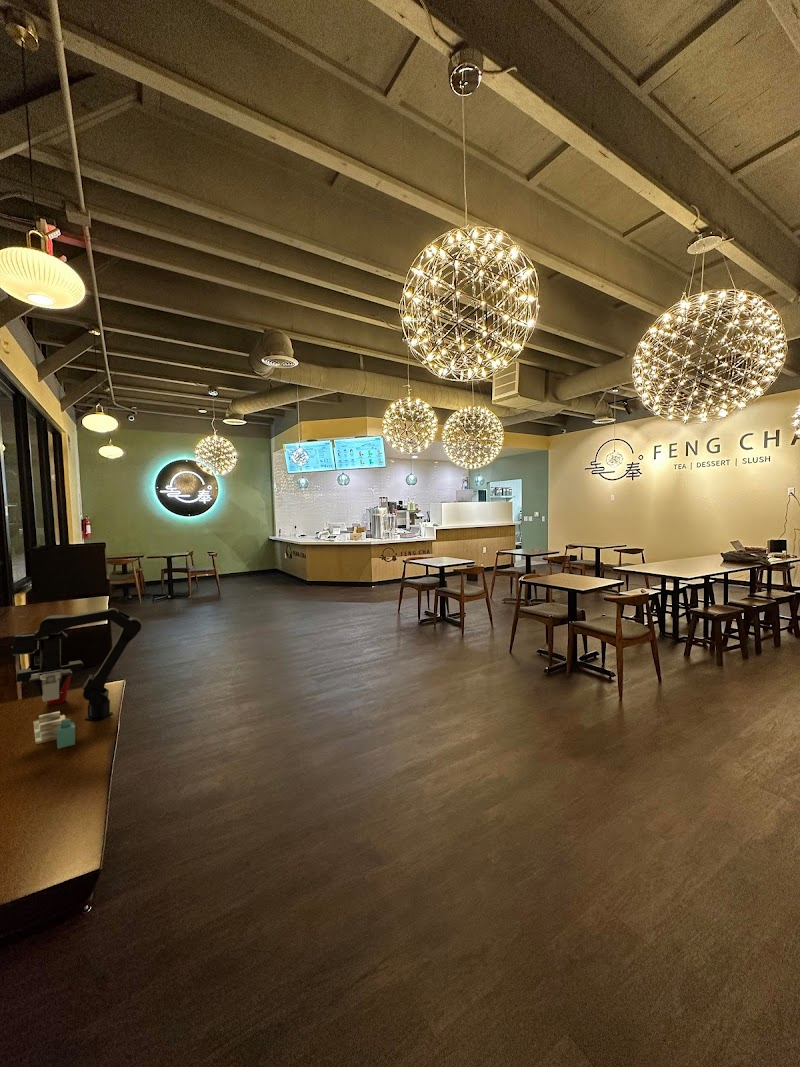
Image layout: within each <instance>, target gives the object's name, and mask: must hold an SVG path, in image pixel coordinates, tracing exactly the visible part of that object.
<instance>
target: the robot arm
mask: <svg viewBox="0 0 800 1067" xmlns="http://www.w3.org/2000/svg"><path fill="white" fill-rule="evenodd" d="M106 621H111V622H113V623H115V625H117V626H119V628H121V630H120V633H119V636H118V638H117V640H115V643H114V645H113V647H112V648H111V650H110V651H109V653H108V654H107V656H106V658H105V659H104V661H103V662H102V664H101V666H100V668H99V669H98V670H97V672H96V673H94V675H93V674H89V675H88V678H87V680H86V681H85V682H84V683H83V687H82V690H83V691H82V697H83V698H84V700H86V701H88V705H87V716H85V717H84V720H87V721H96V722H97V721H98V722H99V721H100V722H101V721H102V720H104V719H106V718H108V717H110V716H111V715H113V714H114V711H113V712H112V711H111V707H110V706H111V705H110V704H111V702H110V701H111V699H109V692H110V690H109V689H107V688H106V687H105V685H106V683H107V679H108V677H109V675H110V674H111V672H112V671H113V669H114V667H115V666H116V664H117V663H118V660H119V659H120V658H121V655H122V654H123V653H124V650H125V649H126V647H127V646H128V645H129V643H130V642H131V641H133V639H134V638H135V637H136V636H137V635H138V633H139V632H140V631H141V630H142V623H141V619H140V618H139V617H136V616H131V615H128V614H126V613H125V612H123V611H120V610H119V609H117V608H116V607H110V608H107V609H102V610H96V611H89V612H85V613H84V612H83V613H77V614H73V615H71V614H70V615H68V614H53V615H48V616H46V617H44V619H42V621H41V622H40V624H39V628H38V630H35V632H34V633H32V634H18V635H17V634H16V635H14V636H13V642H12V646H11V654H12V656H19V655H20V656H21V655H30V654H35V653H36V651H38V650H39V649H40V655H35V656H34V662H33V663H34V666H39V669H34V670H32V668H31V667H29V668H23V669H22V668H21V669H18V670H17V671H15V679H16V680H15V681H16V683H21V682H25V681H26V682H27V681H29V683H34V686H36V687H37V688H36V689H38V693H39V694H40V696H41V697H42V696H43V690H42V682H41V679H40V676H41V675H43V674H48V673H54V672H60V680H59V693H60V691H61V689H62V687H63V684H64V682H65V681H66V679H67V677H68V676H70V675H71V676H72V674H73V673H77V672H78V673H79V672H83V671H84V663H83V661H82V660H81V659H79V660H74V661H68V664H66V665H62V660H61V659H62V657H61V656H62V639H67V637H68V634H67V633H66V632H64V631H65V630H67V629H70V628H73V627H77V626H84V625H88V624H94V623H100V622H106ZM47 635H48V636H47ZM39 647H40V648H39ZM71 672H72V673H71Z"/></svg>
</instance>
